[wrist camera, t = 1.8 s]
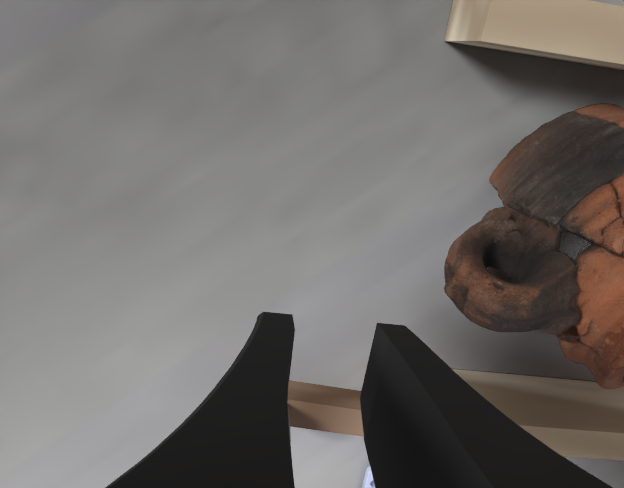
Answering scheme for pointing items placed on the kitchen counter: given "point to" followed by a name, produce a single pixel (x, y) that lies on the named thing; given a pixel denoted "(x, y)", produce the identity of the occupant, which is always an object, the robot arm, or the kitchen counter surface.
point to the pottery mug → (553, 242)
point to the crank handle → (324, 408)
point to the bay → (581, 49)
